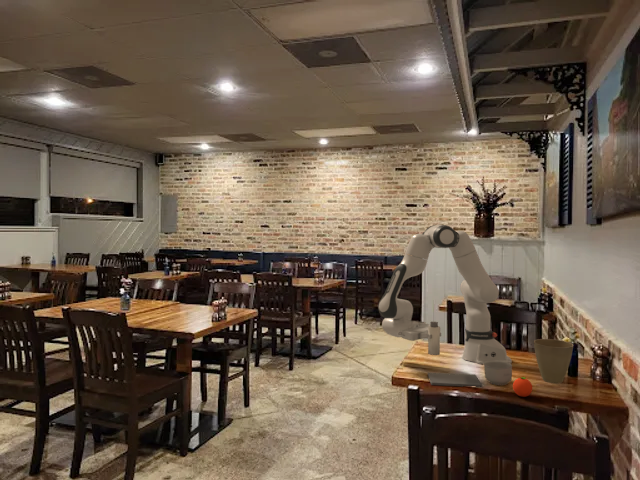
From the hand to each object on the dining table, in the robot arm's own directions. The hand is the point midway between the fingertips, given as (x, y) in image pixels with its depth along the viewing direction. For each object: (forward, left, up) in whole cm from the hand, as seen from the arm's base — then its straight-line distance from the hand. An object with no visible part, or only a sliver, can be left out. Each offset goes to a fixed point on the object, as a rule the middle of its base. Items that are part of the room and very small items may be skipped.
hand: (435, 335), depth 215 cm
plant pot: (-47, +6, -16) cm, 50 cm away
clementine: (-29, +27, -16) cm, 43 cm away
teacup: (-24, +11, -16) cm, 31 cm away
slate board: (-6, +12, -16) cm, 21 cm away
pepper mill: (+1, -1, -8) cm, 8 cm away
